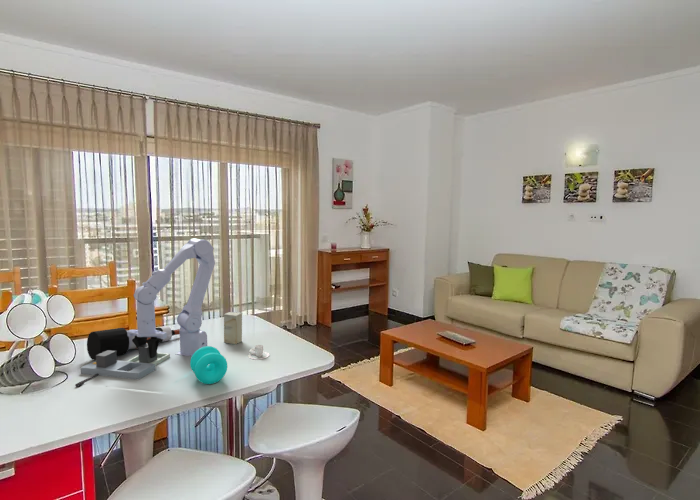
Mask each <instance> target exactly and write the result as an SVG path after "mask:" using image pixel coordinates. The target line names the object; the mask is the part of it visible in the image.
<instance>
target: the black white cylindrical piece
mask: <svg viewBox="0 0 700 500" xmlns="http://www.w3.org/2000/svg"><path fill="white" fill-rule="evenodd" d="M136 330H138V328H137V329H136ZM156 330H158V331H161V332H166V333H167V338H165V339H161V341H160V343H165V342H169V341H171V339H172V337H173V336H176V335H178V336H179V335H180V333H179V330H180V328H178V329H171V328H170V326H168V325H167V326H161V327H158V326H157V327H156ZM127 331H129V330H126V328H124V327H118V328H117V327H116V328H112V329H111V328H110V329H104V330H94V331H91V332H89V334H88V335H87V341H86V350H87V354H88V356H89V358H90V359H91V360H93V361H96V355H98V354H100V353H102V352H105V351H107V350H111V351H116V353H117V356H122V355H126V354H127V353H128V351H129V350H133V349H137V347H136V345H135V344H134V343H133V342H132V339H134V337H135V336H130V337H129V336H128V334H127ZM148 339H151V338H150V337H147V340H148ZM146 343H147V342H146Z"/></svg>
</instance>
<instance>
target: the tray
mask: <svg viewBox="0 0 700 500" xmlns="http://www.w3.org/2000/svg"><path fill="white" fill-rule="evenodd" d="M169 358H171V354H170V353H164V352H157V359H156V360H155V361H153V362H151V363H150V364H155V367H156V366H158V365H159V364H161V363H163V362H164V361H166V360H168V359H169ZM127 361H130V362H139V354H138V355H136V356H135V357H131V358H130V359H128V360H127Z"/></svg>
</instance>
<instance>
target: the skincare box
mask: <svg viewBox="0 0 700 500" xmlns="http://www.w3.org/2000/svg"><path fill="white" fill-rule="evenodd" d="M242 341H243V313H242V312H235V311H229V312H226V313H223V343H227V344H232V345H237V343H238V344H240V343H241V342H242Z"/></svg>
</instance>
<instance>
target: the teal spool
mask: <svg viewBox="0 0 700 500" xmlns="http://www.w3.org/2000/svg"><path fill="white" fill-rule="evenodd" d="M189 366H190V368H191V371H192V372H193V373H194V374H195V377H196V379H197V381H199V383H202V384H204V385H213V384H216V383H218V382H219V381H220V380H222V379H223V378H224V376H225V375H226V373H227V371H228V361H227V359H226V357H225V356H224V355H222V354H221V352H220V351H219V350H218V348H216V347H214V346H210V345H207V346H205V347H202V348H200V349H198V350H197V351H196V352H195V353H194V354H193V355H192V356H190V364H189Z"/></svg>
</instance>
